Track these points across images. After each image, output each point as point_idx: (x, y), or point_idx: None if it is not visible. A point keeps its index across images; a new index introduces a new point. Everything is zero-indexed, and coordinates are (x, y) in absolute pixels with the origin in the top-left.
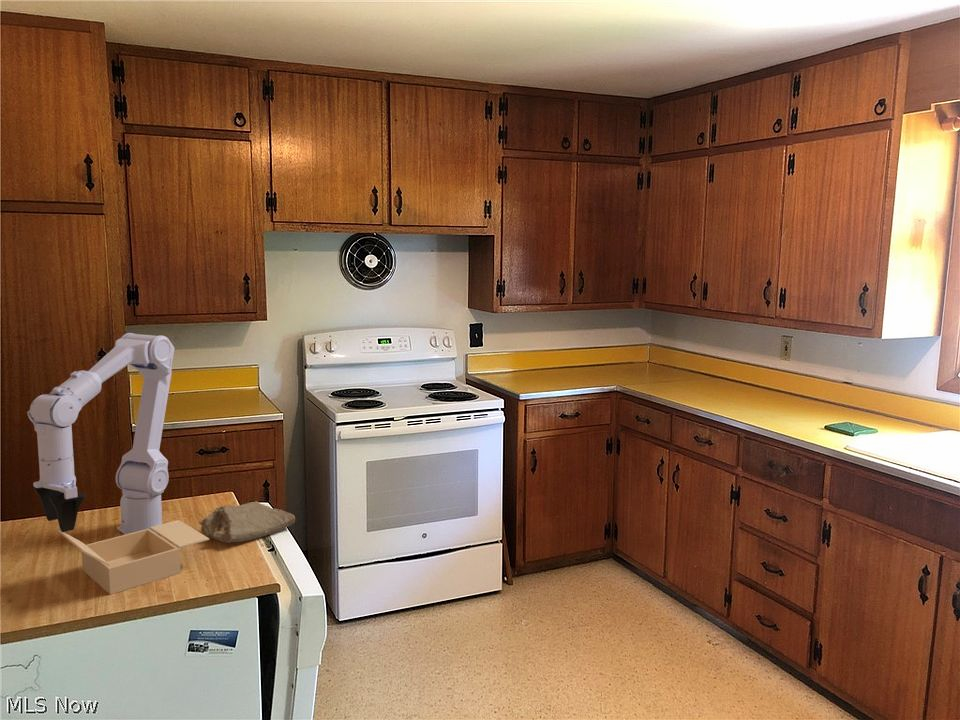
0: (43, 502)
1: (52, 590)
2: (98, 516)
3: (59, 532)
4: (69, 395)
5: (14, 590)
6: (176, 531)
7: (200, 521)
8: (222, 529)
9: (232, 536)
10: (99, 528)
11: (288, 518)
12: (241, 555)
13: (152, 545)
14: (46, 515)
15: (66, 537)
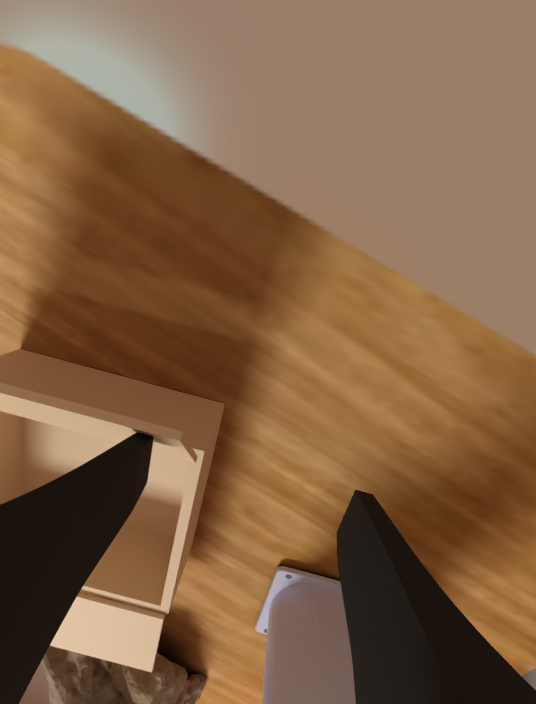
0: (410, 607)
1: (165, 281)
2: (522, 627)
3: (120, 416)
4: None
5: (262, 213)
6: (74, 624)
7: (159, 679)
8: (77, 665)
9: None
10: (444, 582)
11: None
12: None
13: (148, 557)
14: (367, 512)
15: (13, 391)
